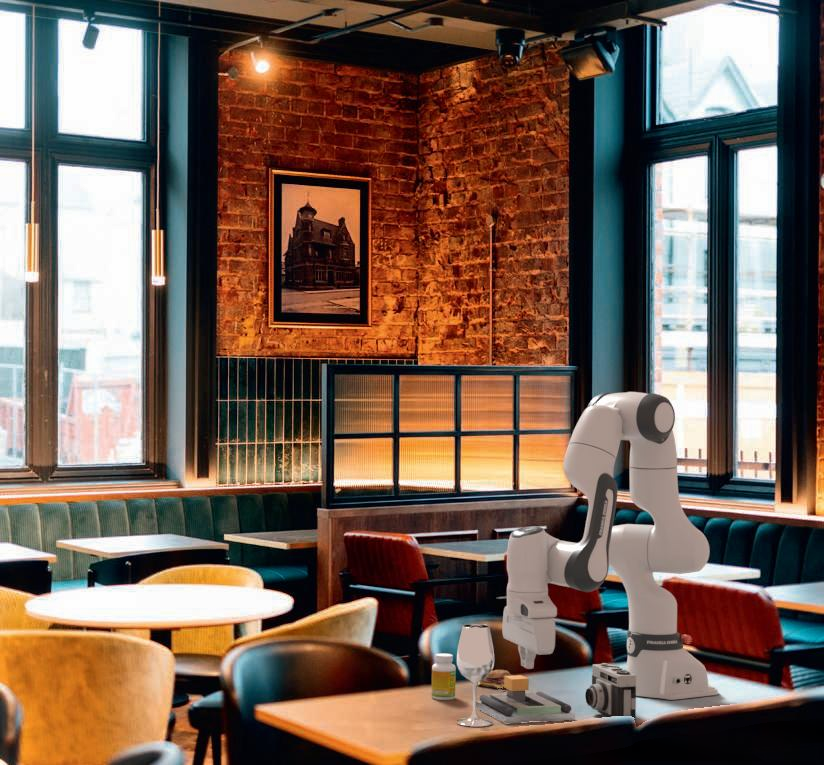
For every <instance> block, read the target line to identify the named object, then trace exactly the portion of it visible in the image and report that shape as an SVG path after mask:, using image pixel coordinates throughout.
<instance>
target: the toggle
mask: <svg viewBox="0 0 824 765" xmlns="http://www.w3.org/2000/svg"><path fill="white" fill-rule="evenodd" d="M529 680H530V679H529V678H528V677H526V676H524V675H522V674H519V675H518V674H517V675H512V676H504V688H505V689H506V690H507V691H506V692H507V693H506V694H507V696H508V697H510V698H512V699H514V700H516V701H518V702H520V703H524V702H525V693H526V691H529V685H530V684H529ZM504 688H503V689H504ZM525 690H526V691H525Z"/></svg>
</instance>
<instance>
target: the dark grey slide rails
mask: <svg viewBox="0 0 824 765" xmlns="http://www.w3.org/2000/svg"><path fill="white" fill-rule="evenodd" d="M535 694H537V695H539V696H541V697H543V698H545V699H547V700H549V701H552V702H554V703H556V704H558V705H560V706H561V710H563V711H565V712H570V711H572V706H571V705H570V704H568V703H566V702H563V701H561V700H560V699H557V698H555V697H554V696H550V695H549V694H547V693H544V692H541V691H537V692H536V693H535ZM479 701H481V702H483V703H485V704H487V705H489V706H491V707H493V708H495V709H496V710H498V711H500V712H502V713H504V714H506V715H508V716H511V715H512V714H513V710H512V709H511V708H509V707H507V706H505V705H503V704H502V703H500V702H498V701H496V700H494V699H492V698H490V696H488V695H486V694H481V695H480V696H479Z"/></svg>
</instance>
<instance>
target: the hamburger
mask: <svg viewBox="0 0 824 765" xmlns="http://www.w3.org/2000/svg"><path fill="white" fill-rule="evenodd" d="M504 676H513V674H511V673H510V672H509V671H508V670H506V669H505V670H504V669H495V670H492V671H491V673H490V674H489V675H488V676H487V677H486V678H485V679H483V680H481V681H479V682H478V684H479V685H480V686H482V687H484V686H488V687H487V688H489V687H497V688H496V689H498V688H502V689H504V688H503V687H504Z"/></svg>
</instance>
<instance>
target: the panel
mask: <svg viewBox="0 0 824 765" xmlns="http://www.w3.org/2000/svg"><path fill="white" fill-rule="evenodd" d="M489 697H490V698H492V699H494V700H496V701H498V702H500V703H502V704H503V705H505V706H507V707H509V708H511V709H512V710H513V714H512V715H511V716H508V715H506V714H504V713H502V712H500V711H498V710H496V709H495V708H493V707H491V706H489V705H487V704H485V703H483V702H481V701H480V700H479V701H478V700H476V708H477V709H476V710H478V709H479V710H478V711H480V710H481V711H480V712H482V713H483V712H484V713H483V714H485V713H487V714H489V715H490V716H489V715H488V716H489V717H491V716H492V717H491V718H493V717H494V718H496V719H498V720H500V721H502V722H504V723H521V722H529V721H553V722H565V721H564V720H569V721H575V720H576V713H575V711H572V710H571V711H570V712H565V711H563V710H561V706H560V705H558V704H556V703H554V702H552V701H549V700H547V699H545V698H543V697H541V696H539V695H537V694H536V693H534V692H532V691H531V692H530V691H527V692H526V691H525V702H524V703H520V702H518V701H516V700H514V699H512V698H510V697H508V696H507V693H493V694H492V693H490V694H489ZM487 714H486V715H487ZM494 718H493V719H494ZM496 719H495V720H496ZM498 720H497V721H498ZM500 721H499V722H500ZM502 722H501V723H502ZM504 723H503V724H504ZM521 724H522V723H521Z"/></svg>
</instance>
